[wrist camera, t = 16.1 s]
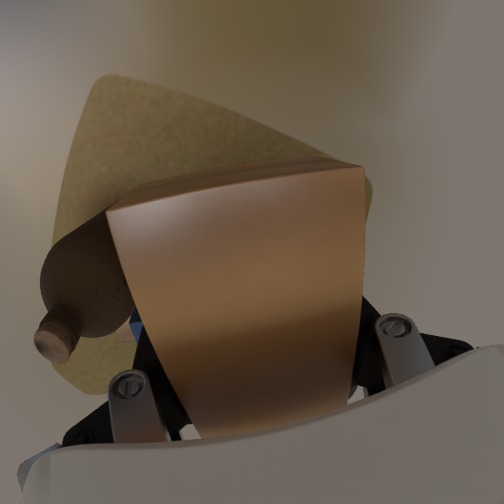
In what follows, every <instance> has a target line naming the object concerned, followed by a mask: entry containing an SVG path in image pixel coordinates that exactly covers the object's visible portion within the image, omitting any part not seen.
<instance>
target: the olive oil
mask: <svg viewBox="0 0 504 504" xmlns="http://www.w3.org/2000/svg"><path fill="white" fill-rule="evenodd" d="M110 207H111V206H110ZM110 207H108V208H106V209H105V210H103V211H102V212H101V213H99V214H98V215H96V216H95V217H93V218H92V219H90V220H89V221H87V222H86V223H84V224H83V225H81V226H80V227H78V228H77V229H75V230H74V231H72V232H70V233H69V234H67V235H66V236H64V237H63V238H62V239H60V240H59V241H58V242H57V243H56V244H55V245H54V246H53V247H52V248H51V250H50V251H49V253H48V255H47V257H46V259H45V261H44V264H43V267H42V271H41V276H40V289H41V295H42V298H43V301H44V304H45V306H46V308H47V310H48V313H47V314H46V316H45V317H44V318H43V320H42V321H41V323H40V325H39V329H38V330H37V332H36V333H35V335H34V343H35V346H36V348H37V349H38V351H39V352H40V353H41V354H42V355H43V356H44V357H45V358H46V359H48V360H50V361H52V362H54V363H59V364H61V363H65V362H67V361H68V359H69V357H70V355H71V352H73V351H74V350H75V348H76V345H77V343H78V341H79V338H80V336H81V337H88V338H97V337H102V336H106V335H109V334H111V333H113V332H114V331H116V330H117V329H119V328H120V327H121V326H122V325H123V324H124V323H125V322H126V321H127V320H128V318H129V317H130V316H131V314H132V313H133V311H134V309H135V306H136V305H135V302H134V299H133V297H132V294H131V291H130V289H129V286H128V283H127V280H126V278H125V275H124V272H123V269H122V266H121V263H120V260H119V257H118V254H117V251H116V247H115V244H114V241H113V238H112V234H111V231H110V227H109V224H108V220H107V216H106V210H108V209H109V208H110Z"/></svg>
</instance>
